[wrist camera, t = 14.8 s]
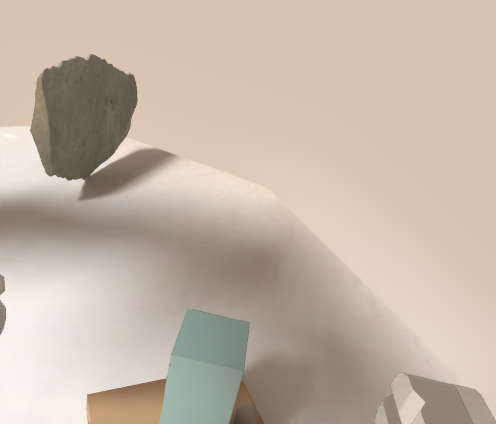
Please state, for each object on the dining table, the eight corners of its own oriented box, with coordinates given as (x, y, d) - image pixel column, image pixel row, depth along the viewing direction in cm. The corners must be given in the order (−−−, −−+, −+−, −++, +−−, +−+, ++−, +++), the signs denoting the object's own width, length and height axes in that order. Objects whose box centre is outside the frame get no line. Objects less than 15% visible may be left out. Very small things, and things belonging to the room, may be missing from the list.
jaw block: (212, 484, 25) (243, 371, 21) (151, 470, 25) (171, 354, 21) (221, 427, 29) (249, 322, 25) (168, 416, 29) (188, 308, 25)
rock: (104, 152, 79) (110, 47, 71) (134, 160, 79) (144, 55, 71) (20, 202, 55) (15, 50, 47) (63, 213, 55) (66, 62, 47)
